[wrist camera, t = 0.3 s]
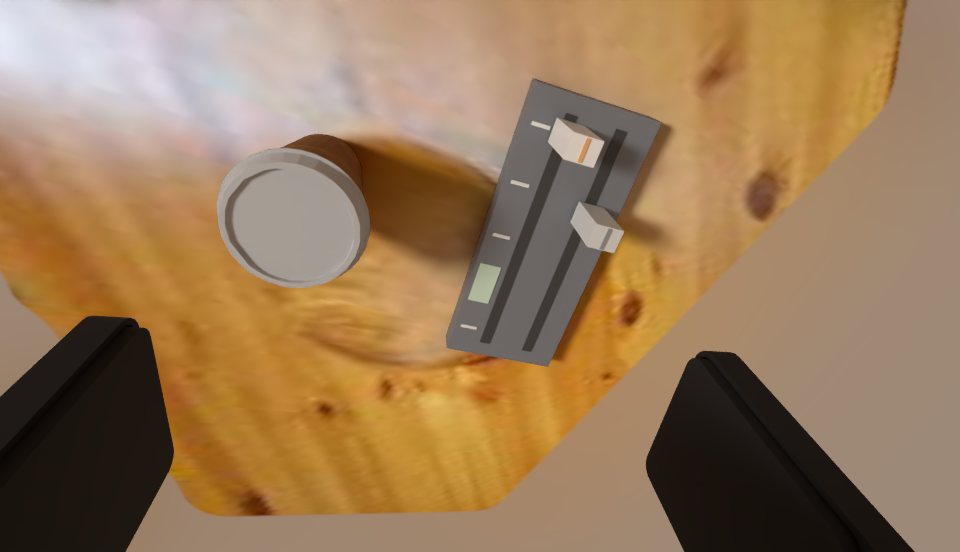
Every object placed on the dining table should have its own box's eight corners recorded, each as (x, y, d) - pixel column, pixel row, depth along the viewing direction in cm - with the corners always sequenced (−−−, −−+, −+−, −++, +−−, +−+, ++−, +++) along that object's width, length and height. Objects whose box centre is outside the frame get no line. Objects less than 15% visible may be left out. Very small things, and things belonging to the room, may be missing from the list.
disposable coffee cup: (404, 169, 42) (399, 224, 31) (335, 244, 45) (309, 318, 34) (310, 86, 38) (268, 119, 28) (240, 174, 41) (178, 233, 30)
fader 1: (556, 117, 39) (574, 132, 34) (584, 125, 39) (605, 141, 35) (547, 141, 40) (563, 159, 35) (574, 150, 40) (593, 168, 36)
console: (532, 78, 39) (538, 81, 38) (651, 117, 42) (662, 122, 40) (446, 336, 51) (446, 348, 49) (543, 354, 53) (548, 367, 52)
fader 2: (579, 201, 42) (597, 224, 38) (603, 207, 43) (624, 231, 39) (570, 222, 43) (587, 247, 39) (594, 228, 44) (614, 254, 39)
